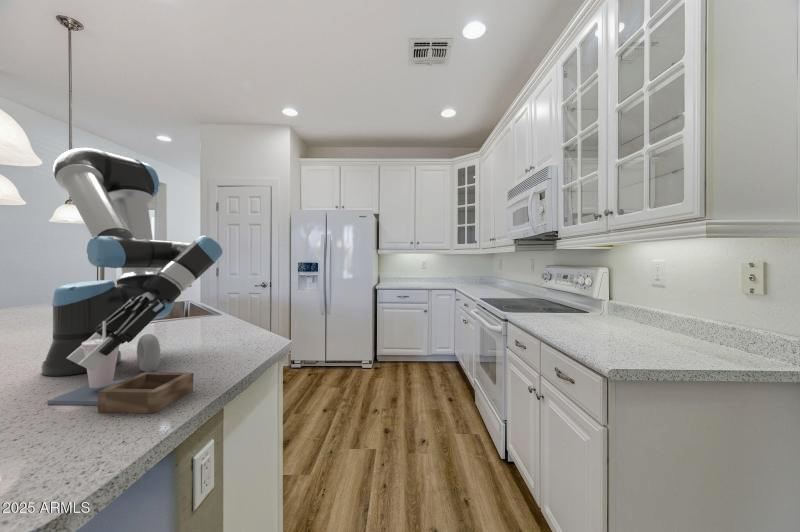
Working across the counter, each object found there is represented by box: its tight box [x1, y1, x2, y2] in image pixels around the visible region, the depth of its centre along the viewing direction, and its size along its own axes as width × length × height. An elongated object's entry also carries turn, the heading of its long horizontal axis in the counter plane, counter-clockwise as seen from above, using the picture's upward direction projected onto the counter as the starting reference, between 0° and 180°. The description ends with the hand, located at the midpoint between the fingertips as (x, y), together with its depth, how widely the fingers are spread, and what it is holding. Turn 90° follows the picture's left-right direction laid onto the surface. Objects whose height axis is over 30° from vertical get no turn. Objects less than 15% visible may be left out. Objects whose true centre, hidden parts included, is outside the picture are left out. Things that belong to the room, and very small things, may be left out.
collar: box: [97, 371, 194, 414], centre depth 65 cm, size 11×11×4 cm
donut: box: [136, 333, 162, 373], centre depth 82 cm, size 10×4×10 cm, turn 53°
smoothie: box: [81, 321, 122, 388], centre depth 68 cm, size 6×6×14 cm
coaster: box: [46, 379, 123, 406], centre depth 68 cm, size 11×11×1 cm
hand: (79, 364), depth 65 cm, fingers closed on smoothie, 6 cm apart
